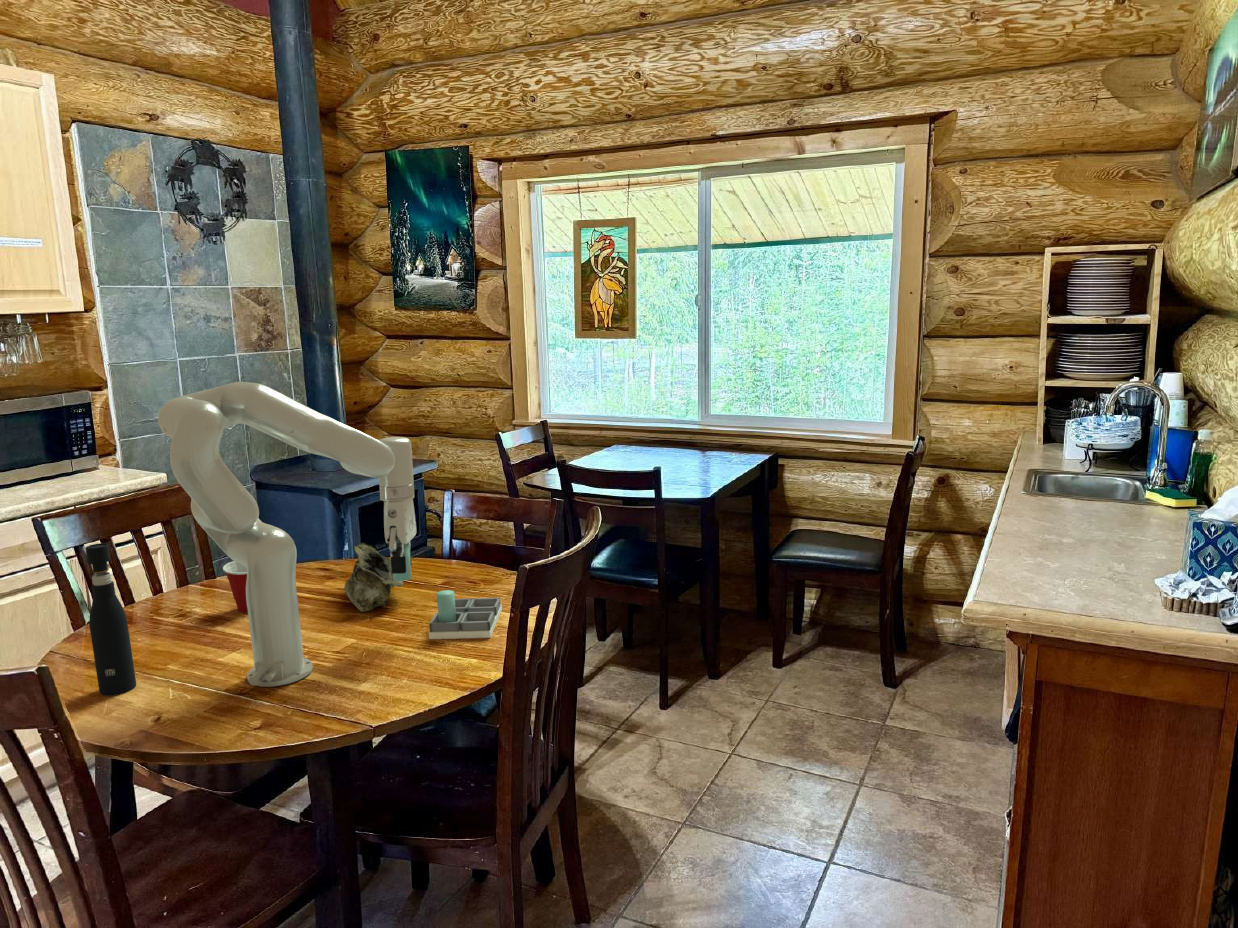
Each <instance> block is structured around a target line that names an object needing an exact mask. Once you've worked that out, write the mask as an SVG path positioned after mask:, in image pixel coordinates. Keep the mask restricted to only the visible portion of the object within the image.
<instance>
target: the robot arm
mask: <svg viewBox="0 0 1238 928" xmlns="http://www.w3.org/2000/svg"><path fill="white" fill-rule="evenodd" d="M157 417H158V418H157V422H158V426H159V429H160V430H161V431H162V433H163V434H164V435H165V436H167V437H168V438H170V439H171V442H170V447H169V448H170V449H169V461H170V462H169V463H170V467H171V471H172V475H173V476H174V477H175V479H176V480H177V482H178V484H179V485H180V486H181V488H182V489H183V490H184V491H185V492H186V494H188V496H189V497H190V499H191V500H190V511H191V513H192V516H193V518H194V519H195V521H196V522H197V524H198V525H199V526H200V527H201V528H202V529H203V531H205V533H206V534H207V535H208V536H209V537H210V538H211V540H212V541H213V542H214V543H215V544H216V545H217V546H218V547H219V548H220V550H222V551H223V552H224V554H225V555H226V556H227V557H229V559H231V560H232V561H235V562H237V563H239V564H241V565H243V566H245V567H246V568H247V581H246V601H247V608H248V613H247V614H248V623H249V624H248V625H249V632H250V640H251V642H250V643H251V649H252V650H251V651H252V659H253V667H251V669H250V670H249V671H247V674H246V676H247V677H246V678H247V682H248V683H249V684H250V686H256V687H261V688H262V687H263V688H265V687H266V688H269V687H270V688H273V687H279V686H285V685H289V684H292V683H295V682H298V681H300V680H302V679H304V678H306V677H307V676H309V675H310V674H311V673H312V671H313V669H314V668H313V662H312V661H311V660H310V659H308V658H306V657H304V649H303V637H302V630H301V629H302V628H301V621H300V620H301V619H300V611H299V610H300V609H299V602H298V600H299V599H298V591H297V579H296V577H297V576H296V572H297V557H298V555H297V554H298V553H297V547H296V544H295V542H294V539H293V538H292V537H291V536H290V535H289V533H287V532H286V531H285V530H283V529H282V528H279V527H276V526H275V525H271V524H268V523H265V522H263V521H262V520H261V519H260V518H259V516H260V509H259V505H258V503H257V501H256V499H255V497H254V496H253V495H252V494H251V493H250V492H249V491H248V490H247V489H246V488H245V486H244V485H243V484H242V483H241V482H240V480H239V479H238V478H237V477H236V476H235V475H234V473H233V472H232V471H231V470H230V469H229V467H228V466H227V464H226V463H225V461H224V460H223V458H222V456H221V453H220V442H221V439H222V436H223V433H224V429H228V428H229V427H230V428H231V427H233V426H236V425H238V424H240V425H241V424H242V425H246V426H248V427H251V428H253V429H255V430H257V431H258V432H259V431H260V432H261V433H264V434H265V435H267V436H270V437H273V438H274V439H277V440H278V441H281V442H283V443H285V444H287V445H290V446H291V447H293V448H296V449H298V450H300V451H304V452H306V453H309V454H312V455H317V456H321V457H325V458H329V459H331V460H334V461H337V462H339V463H340V466H341V467H342V468H343V469H344V470H345V471H347V472H349V473H351V474H355V475H360V476H364V477H369V478H373V479H375V478H376V479H378V483H379V500H380V501H383V528H384V532H383V533H384V539H385V543H386V544H387V545H388V549H389V553H390V554H389V555H390V559H391V569H392V573H393V574H401V573H406V557H405V556H404V544H407V543H409V545H410V562H411V567H412V566H413V565H412V552H411V551H412V550H411V549H412V548H411V547H412V546H411V540H412V539H413V538H414V537H415V536H416V534H417V522H416V513H415V505H414V498H415V484H414V466H413V449H412V442H411V440H410V439H409V438H407V437H404V436H389V437H383V438H381V439H376V438H374V437H373V436H371V435H369V434H366V433H364V432H362V431H361V430H358V429H355V428H354V427H351V426H349V425H347V424H344V423H342V422H340V421H338V420H336V419H334V418H332V417H330V416H328V415H326V414H323V413H320V412H318V411H316V410H315V409H312V408H311V407H309V406H307V405H304V404H302V403H300V402H299V401H297V400H295V399H293V398H290V397H289V396H287V395H285V394H283V393H281V392H279V391H277V390H276V389H274V388H272V387H269V386H266V385H264V384H263V383H257V382H249V381H247V382H246V381H235V382H231V383H227V384H223V385H219V386H216V387H212V388H208V389H204V390H200V391H198V392H193V393H189V394H185V395H181V396H178V397H175V398H174V397H173V398H172V399H169V400H168V401H167V402H166V403H164V404H163V406H162V407H161V408H160V410H159V412H158V415H157ZM400 542H401V543H400ZM397 546H400V548H399V547H397Z"/></svg>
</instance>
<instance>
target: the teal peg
mask: <svg viewBox="0 0 1238 928" xmlns="http://www.w3.org/2000/svg"><path fill="white" fill-rule="evenodd" d="M400 543H401V542H400ZM410 545H411V544H410ZM410 545H409V543H407V544H404V556H405V557H406V573H401V574H393V579H394V580H395V581H403V582H404V581H409V580H411V579H412V566H411V562H412V561H411V562H410V550H411V549H410ZM397 547H399V548H400V546H397Z"/></svg>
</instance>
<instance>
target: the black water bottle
mask: <svg viewBox="0 0 1238 928" xmlns="http://www.w3.org/2000/svg"><path fill="white" fill-rule="evenodd" d="M85 555H86V560H87V561H86V562H87V564H88V565H91V567H92V573H93V574H92V575H91V576H92V577H91V580H92V581H91V582H92V585H91V592H92V598H93V599H92V602H91V606H90V610H89V620H88V621H89V622H88V623H89V624H88V626H89V633H90V639H91V645H92V653H93V659H94V665H95V671H96V678H97V686H98V690H99V691H98V692H99V694H100V695H102V696H106V697H109V696H117V695H122V694H124V693H128V692H130V691H132V690H133V689H135V687H136V686H137V680H136V673H135V666H134V659H133V650H132V644H131V639H130V630H129V624H128V617H127V615H126V612H125V610H124V607H123V605H122V604H121V602H120V600H119V598H118V596H117V595H116V588H115V584H114V581H113V580H112V579H113V578H112V574H111V572H110V571H109V568H108V562H110V561H111V553H110V545H109V543H106V542H105V543H104V542H102V543H94V544H90V545H87V546H85Z"/></svg>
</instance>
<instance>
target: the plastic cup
mask: <svg viewBox="0 0 1238 928" xmlns="http://www.w3.org/2000/svg"><path fill="white" fill-rule="evenodd" d="M222 570H223V572H224V573H225V575H226V577H227V580H228V584H229V587H230V589H231V592H232V596H233V599H234V600H235V601H234V602H235V605H236V608H237V610H238V612H239V613H244V614H245V613H247V614H248V608H247V601H246V581H247V568H246V567H245V566H243V565H241V564H239V563H237V562H235V561H234V560H232V561H230V562H227V563H226V564H225V565H223V567H222Z"/></svg>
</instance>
